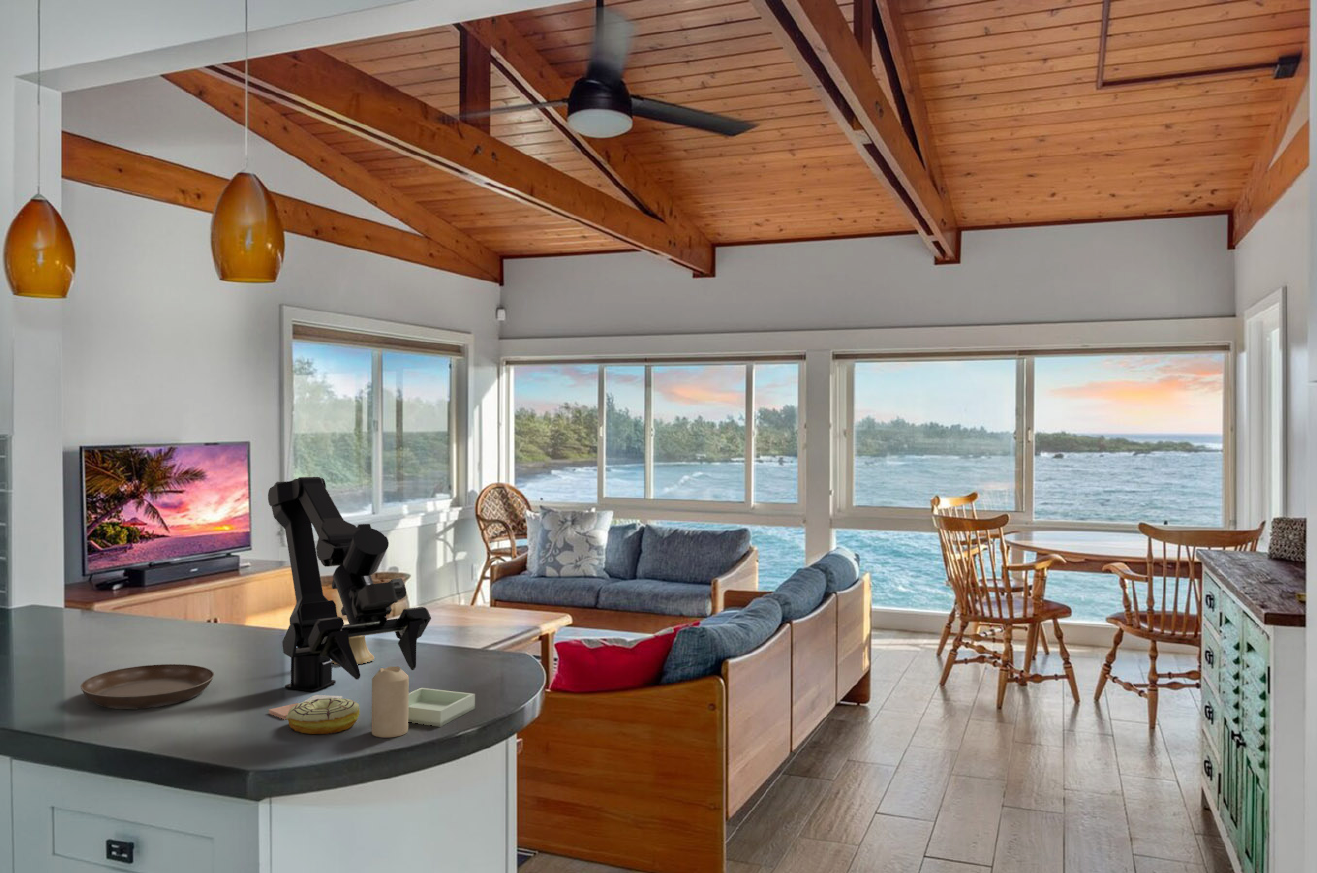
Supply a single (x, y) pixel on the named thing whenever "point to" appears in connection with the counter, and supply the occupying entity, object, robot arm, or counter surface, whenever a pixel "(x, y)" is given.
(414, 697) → the tray
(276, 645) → the counter surface
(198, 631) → the counter surface
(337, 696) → the tile white
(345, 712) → the decorated donut
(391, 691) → the candle
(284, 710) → the tile terracotta
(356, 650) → the hand bell
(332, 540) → the robot arm
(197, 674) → the plant saucer
